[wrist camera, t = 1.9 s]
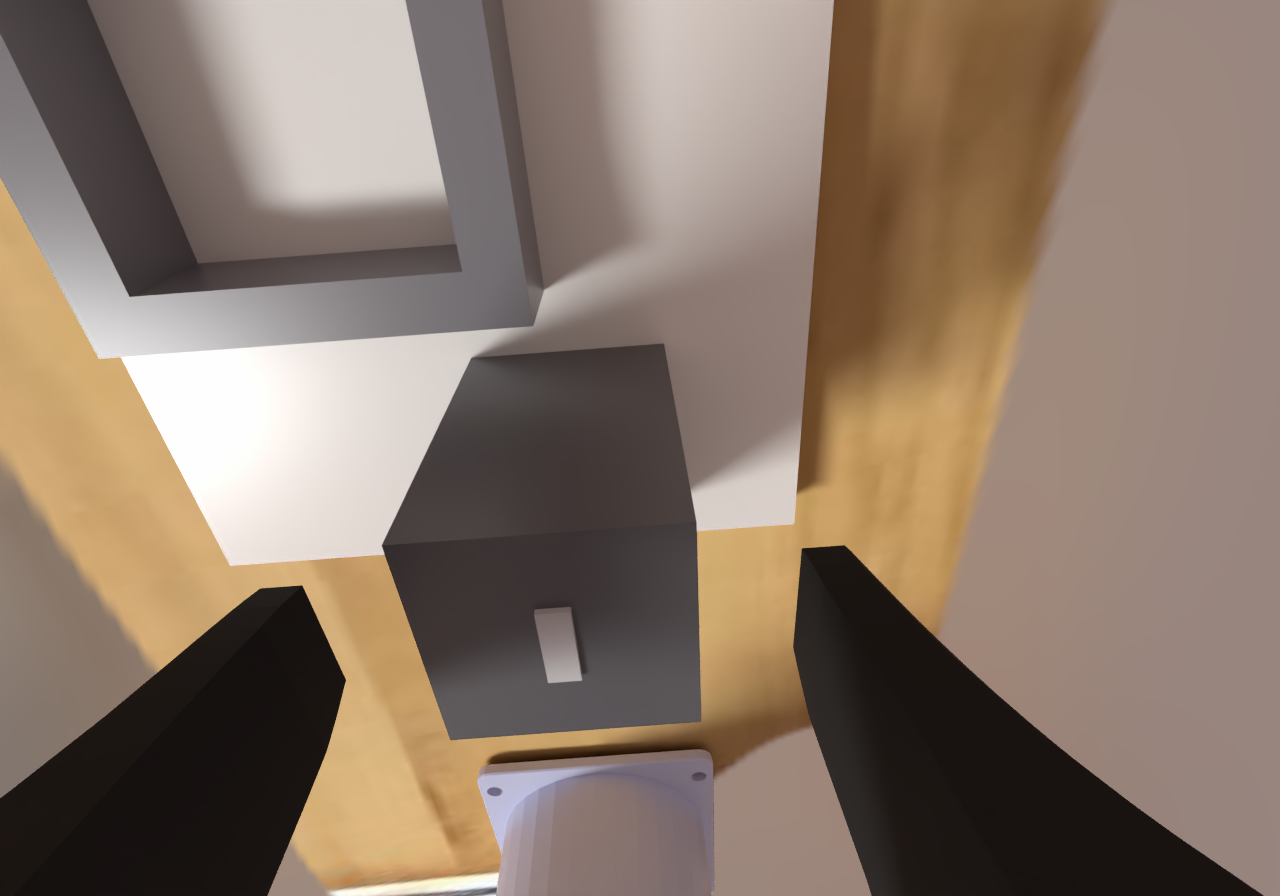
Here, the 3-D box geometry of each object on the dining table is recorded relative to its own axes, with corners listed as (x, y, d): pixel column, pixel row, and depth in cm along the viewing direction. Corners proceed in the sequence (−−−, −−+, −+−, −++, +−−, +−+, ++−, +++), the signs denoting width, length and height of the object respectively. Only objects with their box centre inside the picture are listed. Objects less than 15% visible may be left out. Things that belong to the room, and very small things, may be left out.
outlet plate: (784, 500, 17) (816, 580, 14) (249, 539, 17) (183, 627, 14) (834, -271, 9) (918, -396, 7) (-112, -199, 9) (-382, -295, 7)
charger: (671, 500, 15) (702, 727, 10) (504, 512, 15) (448, 746, 10) (663, 343, 13) (697, 527, 8) (470, 357, 13) (379, 550, 8)
